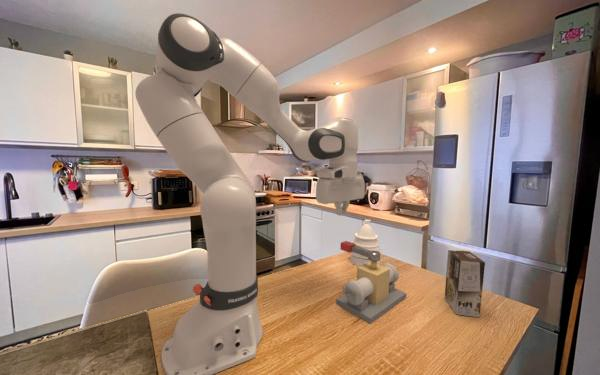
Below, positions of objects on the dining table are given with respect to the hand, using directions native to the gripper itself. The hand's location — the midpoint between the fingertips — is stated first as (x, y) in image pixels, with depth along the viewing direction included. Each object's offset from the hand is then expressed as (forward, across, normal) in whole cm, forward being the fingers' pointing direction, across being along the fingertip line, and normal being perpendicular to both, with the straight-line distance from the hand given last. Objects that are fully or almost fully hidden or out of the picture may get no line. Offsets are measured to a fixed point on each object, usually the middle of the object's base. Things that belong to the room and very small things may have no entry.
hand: (341, 214), depth 78 cm
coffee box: (+26, -22, +29) cm, 45 cm away
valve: (+26, -4, +10) cm, 28 cm away
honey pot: (+26, -28, -9) cm, 39 cm away
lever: (+13, -4, +5) cm, 14 cm away
